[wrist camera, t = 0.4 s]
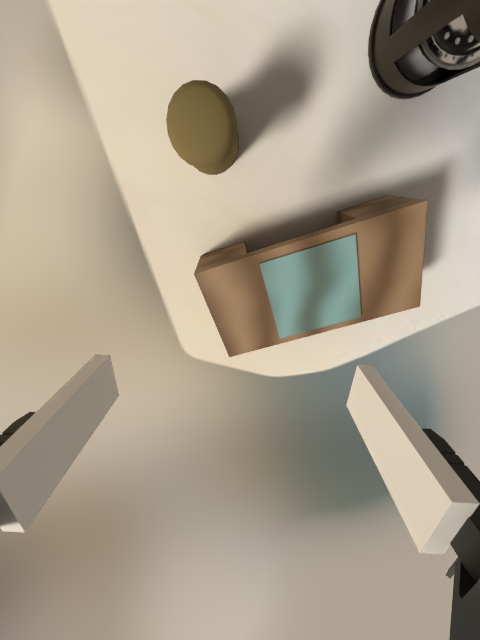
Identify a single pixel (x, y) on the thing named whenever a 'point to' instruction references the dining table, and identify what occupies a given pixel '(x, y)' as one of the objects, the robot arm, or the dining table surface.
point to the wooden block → (318, 276)
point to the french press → (424, 44)
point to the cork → (203, 127)
